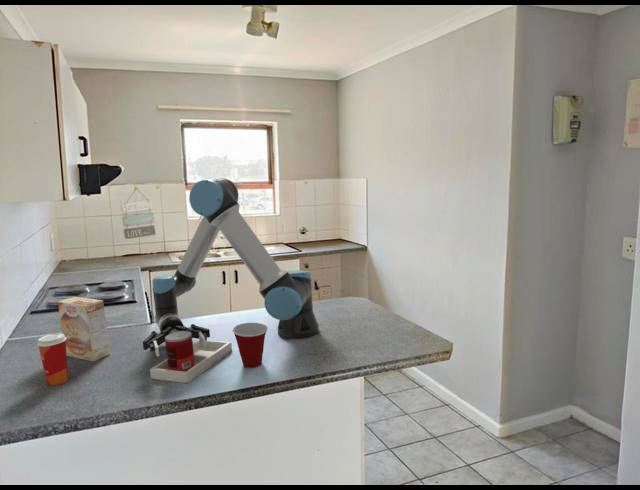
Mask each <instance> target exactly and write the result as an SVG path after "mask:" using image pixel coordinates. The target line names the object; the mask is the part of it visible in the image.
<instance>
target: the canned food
mask: <svg viewBox="0 0 640 490" xmlns="http://www.w3.org/2000/svg"><path fill="white" fill-rule="evenodd" d="M193 342H194V341H193V338H192V334H191V332H188V331H179V332H174V333H171V334H169V335H167V336H166V337H165V342H164V343H165V351H166V359H167V360H168V368H169V370H175V371H184V372H186V371H188V370H189V369H191V368H192V367H193V366H195V362H194V352H193Z"/></svg>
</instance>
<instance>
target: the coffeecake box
mask: <svg viewBox="0 0 640 490" xmlns="http://www.w3.org/2000/svg"><path fill="white" fill-rule="evenodd" d="M104 305H105V304H104V300H103V299H96V298H87V297H81V296H72V297H70V298H65V299H62V300H58V301H57V307H58V308H57V309H58V315H59V320H60V321H59V322H60V327H61V328H60V329H61V334H64V336H65V337H66V340H65V341H66V353H67V357H71V358H74V359H75V358H76V359H81V360H85V361H88V362H89V361H90V362H96V361H98V360H101V359H102V358H104V357H107V356H109V355H111V350H110V341H109V336H108V335H109V334H108V329H107V322H106V321H107V320H106V313H105V306H104Z"/></svg>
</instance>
